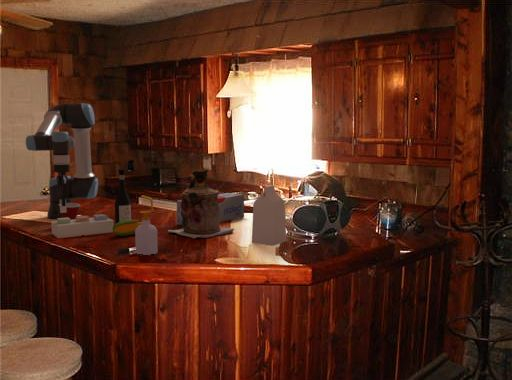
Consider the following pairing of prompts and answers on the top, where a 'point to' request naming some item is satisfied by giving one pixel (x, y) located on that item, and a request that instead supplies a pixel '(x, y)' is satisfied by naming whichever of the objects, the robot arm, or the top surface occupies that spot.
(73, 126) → the robot arm
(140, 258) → the top surface
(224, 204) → the soda pack
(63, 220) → the sage green block
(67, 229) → the console
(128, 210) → the wine bottle
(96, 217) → the dusty blue block
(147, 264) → the top surface
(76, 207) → the plastic cup
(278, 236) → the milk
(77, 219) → the terracotta block
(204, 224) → the cookie jar
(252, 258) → the top surface
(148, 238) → the soap bottle
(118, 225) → the corn
